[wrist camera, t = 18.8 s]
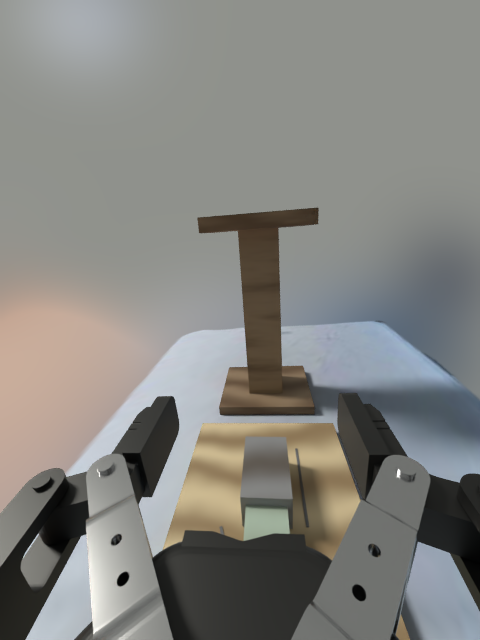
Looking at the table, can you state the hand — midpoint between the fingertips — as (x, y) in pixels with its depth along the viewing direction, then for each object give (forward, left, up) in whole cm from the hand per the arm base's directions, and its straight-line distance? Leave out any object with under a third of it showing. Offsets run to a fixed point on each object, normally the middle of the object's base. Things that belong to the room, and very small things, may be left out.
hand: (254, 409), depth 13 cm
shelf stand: (-19, -28, -22) cm, 40 cm away
